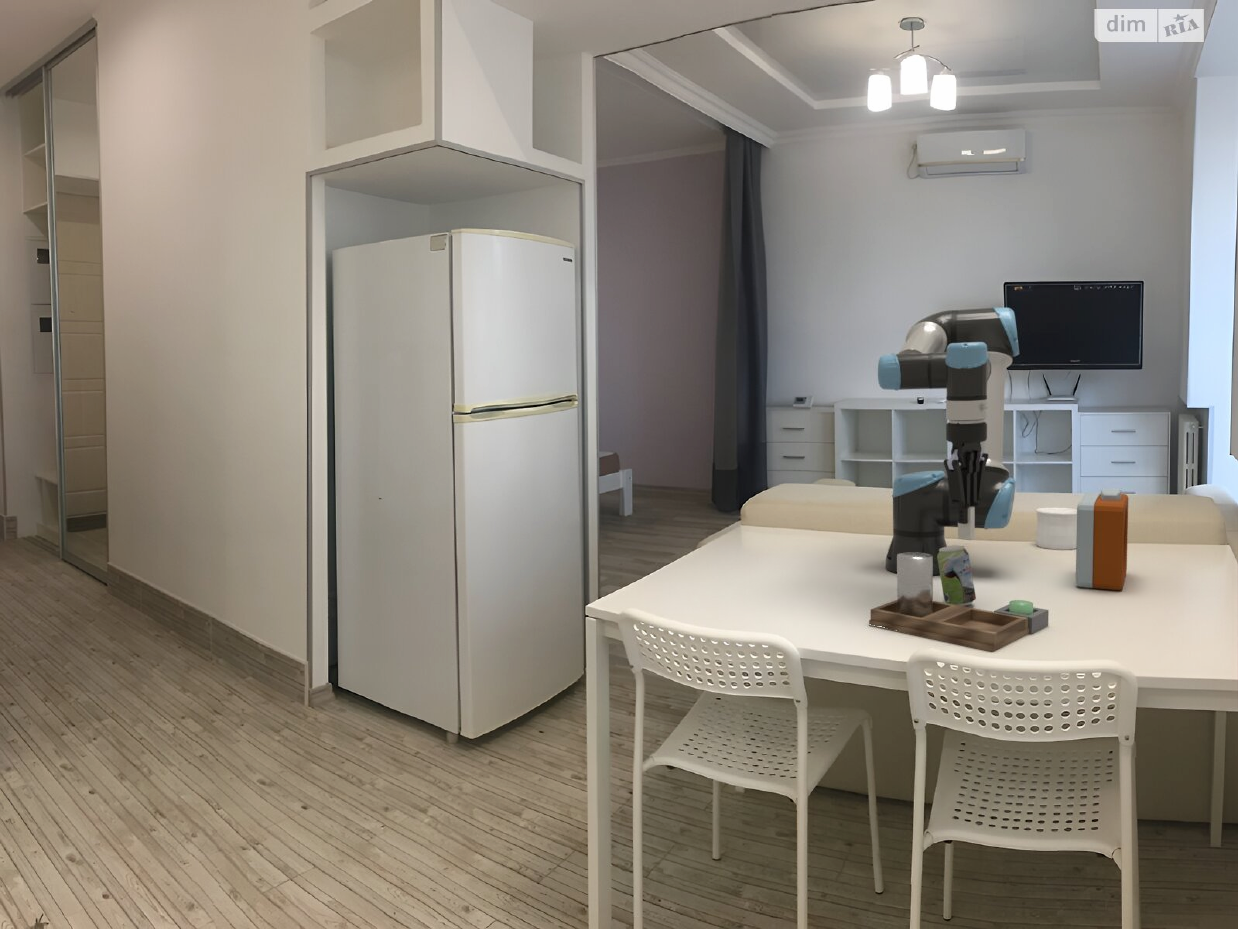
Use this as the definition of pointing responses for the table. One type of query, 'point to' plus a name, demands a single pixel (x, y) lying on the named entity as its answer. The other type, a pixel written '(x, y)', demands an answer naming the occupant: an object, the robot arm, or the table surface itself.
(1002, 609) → the button housing
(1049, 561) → the table surface
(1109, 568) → the orange and grey box
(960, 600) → the beverage can
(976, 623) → the wooden divided tray
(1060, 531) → the cup
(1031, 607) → the button
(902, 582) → the seated billet
